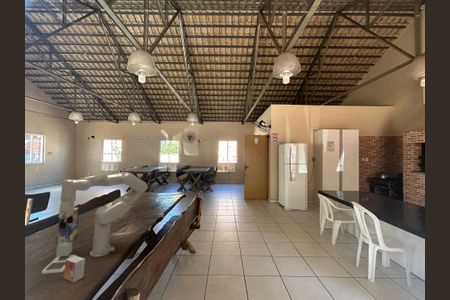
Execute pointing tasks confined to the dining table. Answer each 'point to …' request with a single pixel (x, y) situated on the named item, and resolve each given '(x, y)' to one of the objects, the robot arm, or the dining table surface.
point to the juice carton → (69, 229)
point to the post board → (57, 264)
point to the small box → (74, 268)
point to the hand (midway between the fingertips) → (66, 225)
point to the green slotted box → (64, 249)
